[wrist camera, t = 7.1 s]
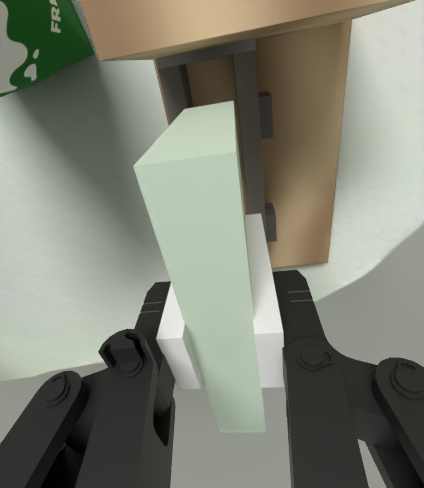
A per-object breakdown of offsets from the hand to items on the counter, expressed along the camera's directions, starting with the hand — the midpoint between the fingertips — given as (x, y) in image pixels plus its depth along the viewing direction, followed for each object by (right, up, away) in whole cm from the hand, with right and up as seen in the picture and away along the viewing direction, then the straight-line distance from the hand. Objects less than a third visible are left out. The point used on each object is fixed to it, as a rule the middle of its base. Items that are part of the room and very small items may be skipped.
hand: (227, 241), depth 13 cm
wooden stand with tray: (+3, +6, +9) cm, 11 cm away
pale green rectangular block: (0, +1, +1) cm, 1 cm away
